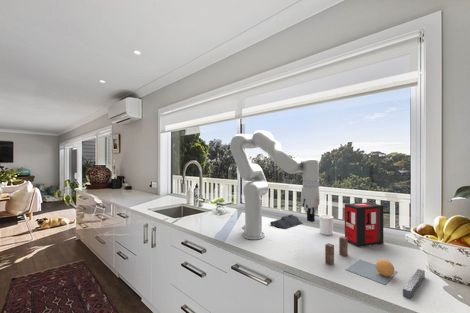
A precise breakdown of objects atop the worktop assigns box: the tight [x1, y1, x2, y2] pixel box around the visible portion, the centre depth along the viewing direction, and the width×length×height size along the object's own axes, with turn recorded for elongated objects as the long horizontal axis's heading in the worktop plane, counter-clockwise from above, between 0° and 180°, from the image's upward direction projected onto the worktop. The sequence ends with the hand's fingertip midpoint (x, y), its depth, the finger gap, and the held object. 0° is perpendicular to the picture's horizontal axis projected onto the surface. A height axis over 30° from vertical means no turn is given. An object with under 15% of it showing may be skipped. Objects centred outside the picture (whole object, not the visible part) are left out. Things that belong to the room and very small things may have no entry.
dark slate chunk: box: [269, 213, 304, 230], centre depth 155 cm, size 15×22×5 cm
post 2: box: [338, 236, 349, 257], centre depth 106 cm, size 3×3×8 cm
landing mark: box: [345, 258, 398, 285], centre depth 92 cm, size 14×14×1 cm
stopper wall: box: [402, 268, 426, 300], centre depth 81 cm, size 2×20×2 cm, turn 130°
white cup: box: [318, 214, 334, 236], centre depth 136 cm, size 8×8×10 cm
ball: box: [375, 259, 396, 277], centre depth 88 cm, size 6×6×6 cm
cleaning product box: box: [344, 201, 384, 248], centre depth 122 cm, size 16×9×20 cm, turn 105°
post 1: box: [324, 243, 335, 266], centre depth 98 cm, size 3×3×8 cm
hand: (310, 221), depth 112 cm, fingers closed
